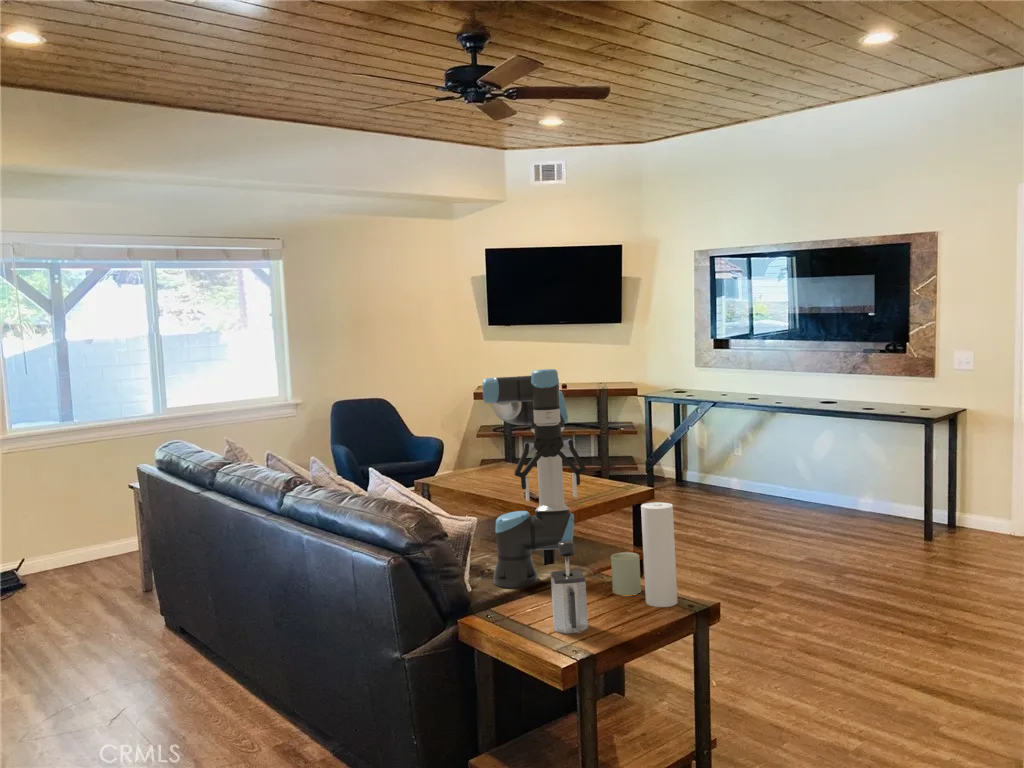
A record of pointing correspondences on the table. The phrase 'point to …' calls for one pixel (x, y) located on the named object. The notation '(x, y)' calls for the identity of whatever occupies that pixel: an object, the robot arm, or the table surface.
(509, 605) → the table surface
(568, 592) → the press carafe
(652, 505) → the cylinder container
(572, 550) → the plunger
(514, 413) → the robot arm
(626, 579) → the can
